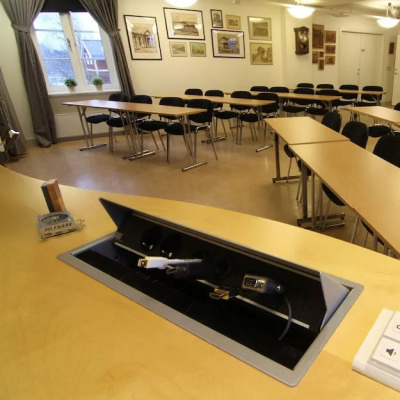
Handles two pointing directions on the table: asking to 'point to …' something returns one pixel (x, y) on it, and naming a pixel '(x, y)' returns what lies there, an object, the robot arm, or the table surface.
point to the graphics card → (58, 223)
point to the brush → (53, 196)
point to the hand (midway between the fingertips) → (4, 162)
